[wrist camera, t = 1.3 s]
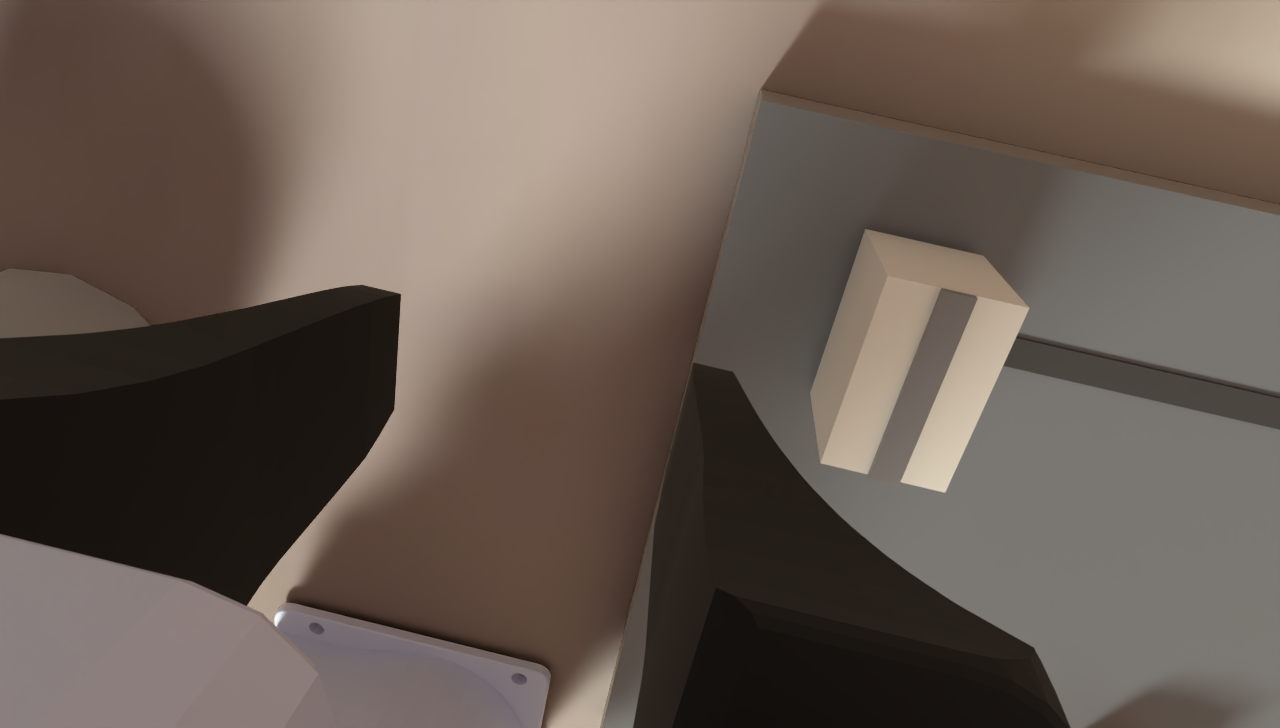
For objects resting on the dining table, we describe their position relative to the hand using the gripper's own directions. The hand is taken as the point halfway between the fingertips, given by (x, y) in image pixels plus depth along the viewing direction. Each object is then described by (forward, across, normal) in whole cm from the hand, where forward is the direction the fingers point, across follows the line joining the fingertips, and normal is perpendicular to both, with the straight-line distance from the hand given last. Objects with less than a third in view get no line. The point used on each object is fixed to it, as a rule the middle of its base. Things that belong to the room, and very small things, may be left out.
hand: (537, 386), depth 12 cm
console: (+8, -12, +6) cm, 16 cm away
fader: (+6, -7, 0) cm, 9 cm away
